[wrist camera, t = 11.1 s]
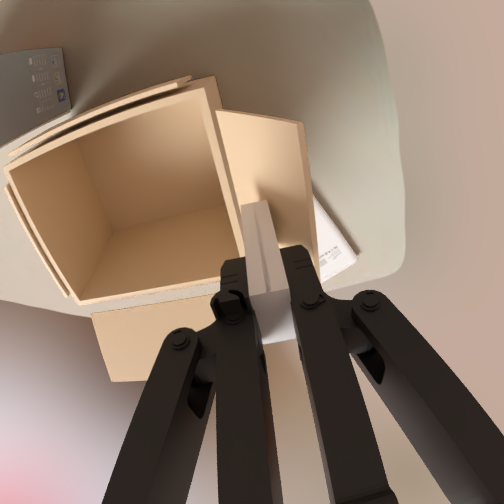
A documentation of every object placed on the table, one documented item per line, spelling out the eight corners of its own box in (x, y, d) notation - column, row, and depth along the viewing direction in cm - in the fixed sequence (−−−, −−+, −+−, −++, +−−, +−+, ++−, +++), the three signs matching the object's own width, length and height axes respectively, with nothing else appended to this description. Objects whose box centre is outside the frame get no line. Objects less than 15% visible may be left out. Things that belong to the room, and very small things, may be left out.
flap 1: (90, 313, 25) (92, 313, 25) (111, 381, 25) (113, 380, 25) (235, 290, 24) (236, 289, 24) (252, 368, 24) (253, 367, 25)
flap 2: (319, 329, 17) (323, 326, 17) (296, 124, 11) (303, 122, 11) (254, 266, 23) (257, 265, 23) (215, 110, 16) (220, 108, 16)
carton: (109, 234, 35) (73, 308, 25) (62, 120, 26) (-7, 162, 16) (245, 203, 34) (252, 277, 24) (213, 67, 25) (200, 75, 15)
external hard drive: (304, 182, 33) (355, 253, 40) (245, 224, 36) (303, 285, 42) (307, 188, 32) (359, 260, 38) (246, 231, 35) (306, 293, 41)
